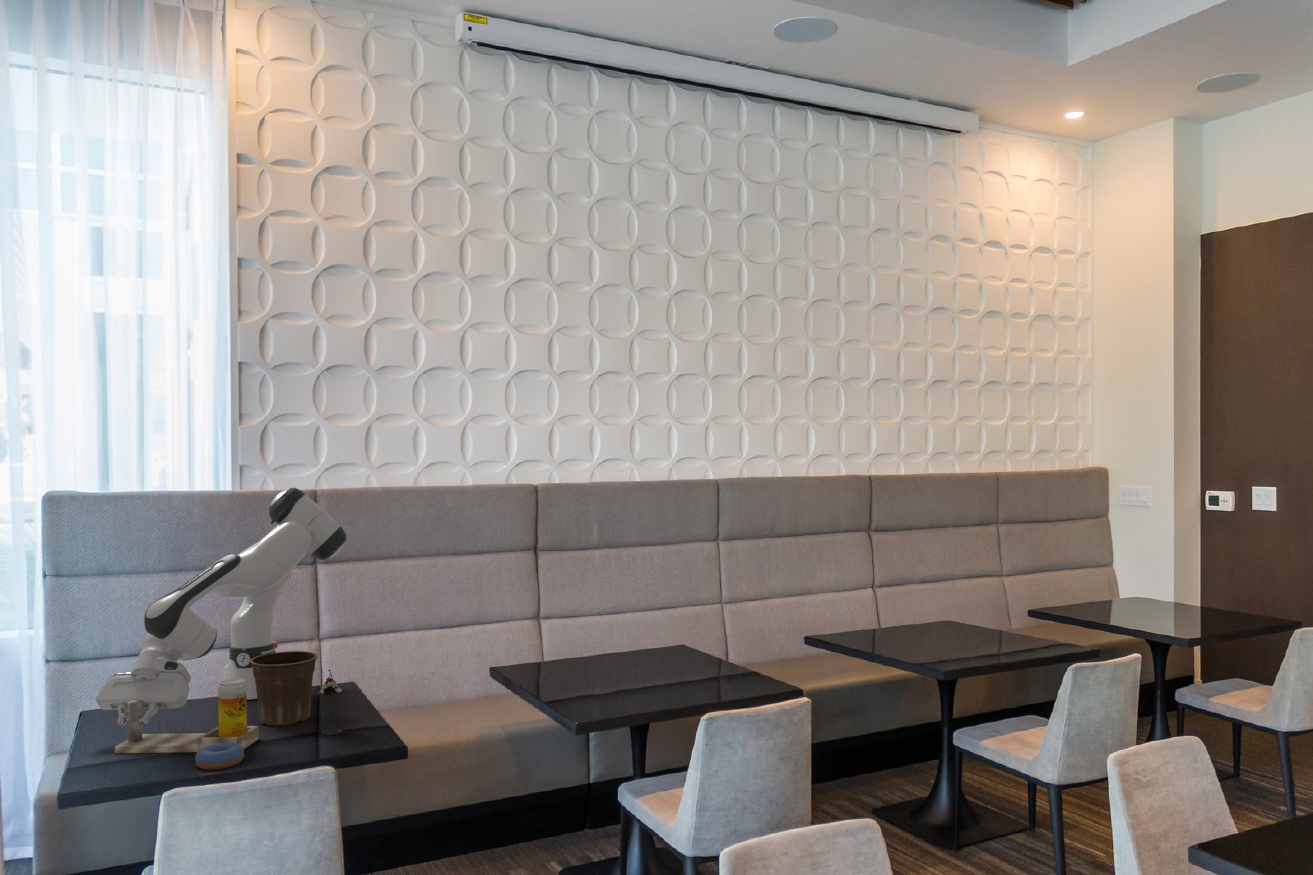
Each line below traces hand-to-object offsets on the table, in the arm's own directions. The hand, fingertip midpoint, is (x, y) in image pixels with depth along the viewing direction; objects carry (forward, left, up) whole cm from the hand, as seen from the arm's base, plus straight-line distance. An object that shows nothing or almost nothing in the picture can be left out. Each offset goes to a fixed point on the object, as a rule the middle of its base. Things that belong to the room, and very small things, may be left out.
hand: (131, 723), depth 231 cm
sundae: (-11, +43, -6) cm, 45 cm away
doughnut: (+13, +26, -6) cm, 30 cm away
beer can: (-1, +23, -6) cm, 24 cm away
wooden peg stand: (-1, +13, -6) cm, 14 cm away
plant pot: (-23, +27, -6) cm, 36 cm away
